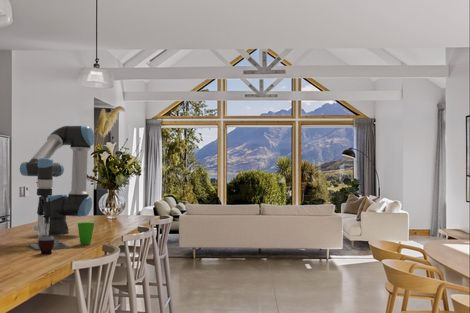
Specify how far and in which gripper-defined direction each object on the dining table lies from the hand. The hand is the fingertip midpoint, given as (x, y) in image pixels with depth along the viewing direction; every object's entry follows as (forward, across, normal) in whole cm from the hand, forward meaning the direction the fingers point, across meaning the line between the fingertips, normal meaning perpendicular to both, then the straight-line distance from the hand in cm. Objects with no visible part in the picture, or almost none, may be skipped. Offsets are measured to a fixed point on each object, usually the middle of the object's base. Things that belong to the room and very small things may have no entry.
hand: (43, 229), depth 281 cm
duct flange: (+8, +13, 0) cm, 15 cm away
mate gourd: (+8, +32, -5) cm, 34 cm away
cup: (+8, +10, +19) cm, 23 cm away
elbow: (+8, 0, -1) cm, 8 cm away
